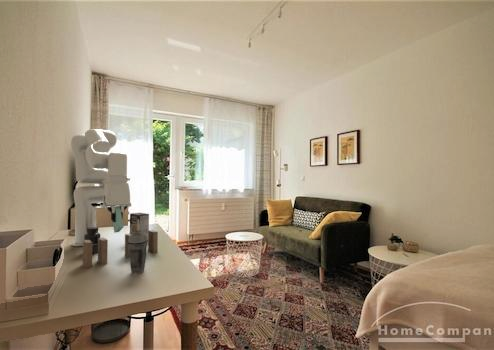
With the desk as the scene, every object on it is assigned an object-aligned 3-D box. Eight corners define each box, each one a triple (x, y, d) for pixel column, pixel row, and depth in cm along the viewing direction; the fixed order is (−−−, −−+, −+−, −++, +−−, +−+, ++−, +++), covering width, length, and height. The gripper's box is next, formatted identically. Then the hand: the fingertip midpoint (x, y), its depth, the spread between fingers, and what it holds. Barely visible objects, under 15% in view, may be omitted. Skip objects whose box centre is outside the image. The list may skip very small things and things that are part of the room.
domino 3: (124, 255, 111) (125, 234, 111) (129, 254, 112) (129, 233, 112) (129, 258, 107) (129, 236, 107) (134, 257, 108) (134, 235, 108)
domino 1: (82, 264, 99) (83, 240, 99) (88, 263, 100) (88, 239, 101) (86, 268, 95) (86, 243, 95) (92, 267, 96) (92, 242, 96)
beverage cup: (127, 276, 87) (127, 221, 87) (127, 269, 93) (127, 218, 94) (148, 273, 90) (149, 220, 90) (147, 266, 97) (147, 217, 97)
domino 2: (97, 261, 103) (98, 238, 103) (103, 260, 104) (103, 237, 104) (101, 264, 99) (102, 240, 99) (107, 263, 100) (107, 239, 100)
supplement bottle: (91, 255, 111) (92, 229, 111) (79, 254, 112) (80, 229, 113) (103, 251, 118) (103, 226, 118) (91, 250, 119) (92, 226, 119)
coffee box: (129, 242, 135) (129, 213, 135) (139, 239, 140) (139, 212, 141) (138, 244, 130) (139, 214, 130) (149, 241, 135) (149, 213, 136)
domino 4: (148, 250, 119) (148, 230, 119) (152, 249, 120) (152, 229, 120) (153, 253, 115) (153, 232, 115) (157, 252, 116) (157, 231, 116)
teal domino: (114, 232, 105) (111, 211, 108) (119, 231, 106) (115, 211, 110) (118, 227, 101) (114, 206, 105) (123, 226, 103) (119, 205, 106)
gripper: (132, 180, 114) (132, 218, 114) (94, 180, 103) (94, 222, 103) (138, 180, 109) (138, 220, 109) (99, 180, 98) (99, 224, 98)
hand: (116, 221), depth 106 cm, fingers closed on teal domino, 1 cm apart
